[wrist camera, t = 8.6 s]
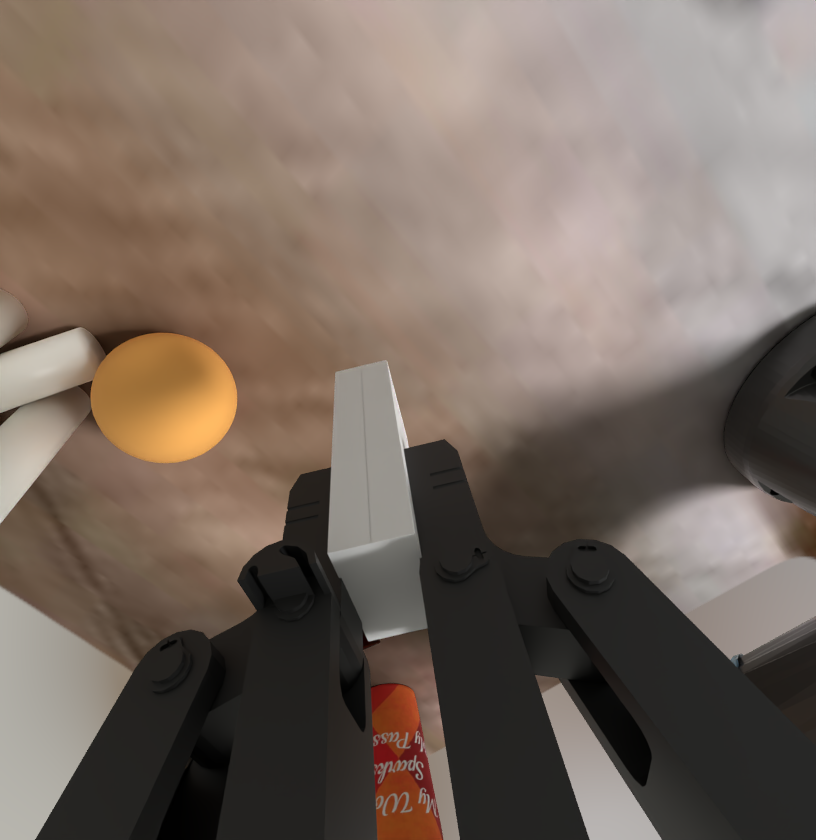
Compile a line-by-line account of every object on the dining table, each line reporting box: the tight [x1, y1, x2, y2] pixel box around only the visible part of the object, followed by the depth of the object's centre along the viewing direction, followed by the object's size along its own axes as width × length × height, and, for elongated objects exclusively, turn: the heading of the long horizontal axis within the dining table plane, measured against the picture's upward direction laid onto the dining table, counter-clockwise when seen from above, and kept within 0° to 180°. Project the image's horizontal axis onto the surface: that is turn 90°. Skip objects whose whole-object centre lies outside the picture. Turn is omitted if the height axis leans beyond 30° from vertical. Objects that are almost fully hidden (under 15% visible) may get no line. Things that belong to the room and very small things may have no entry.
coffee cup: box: [371, 684, 443, 840], centre depth 40 cm, size 8×8×15 cm
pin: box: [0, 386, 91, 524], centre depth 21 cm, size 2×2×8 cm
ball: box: [90, 333, 237, 463], centre depth 22 cm, size 6×6×6 cm
